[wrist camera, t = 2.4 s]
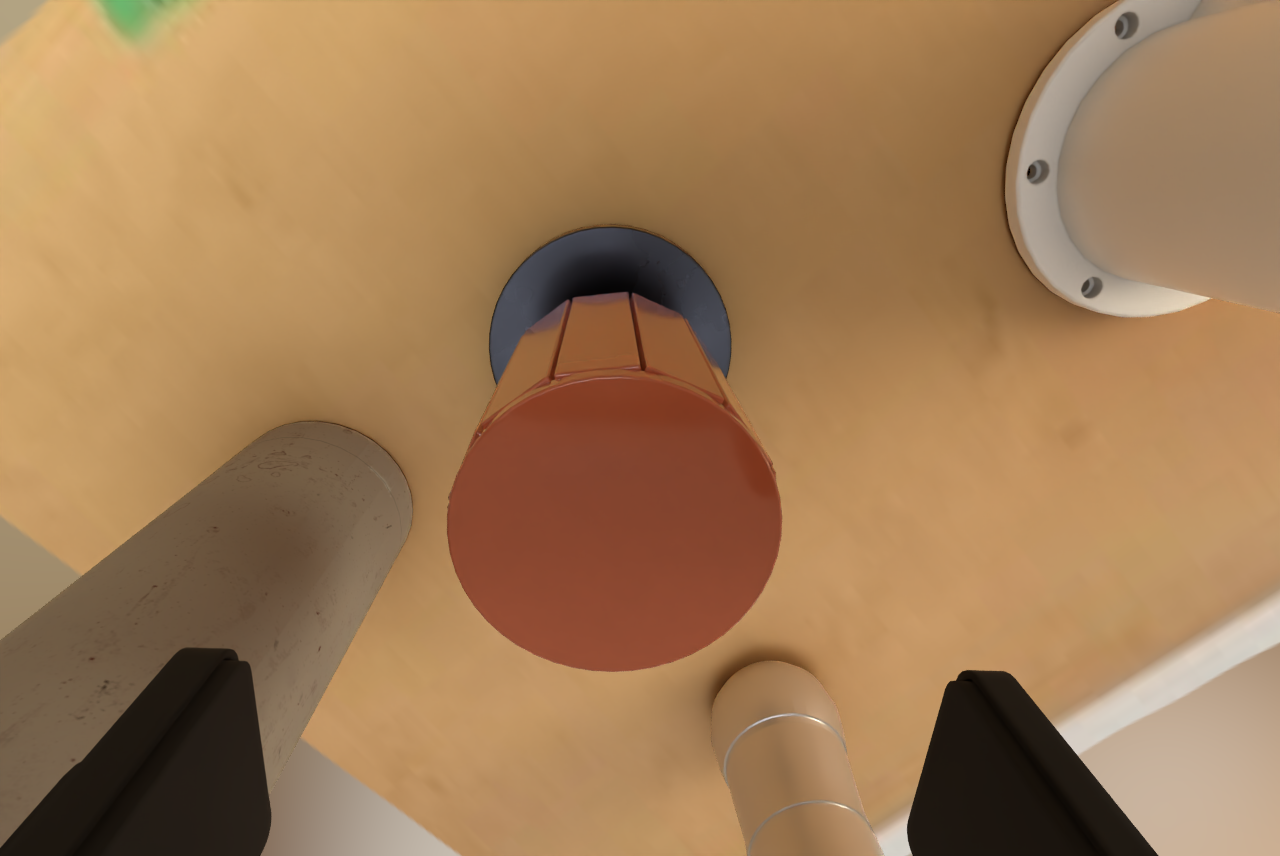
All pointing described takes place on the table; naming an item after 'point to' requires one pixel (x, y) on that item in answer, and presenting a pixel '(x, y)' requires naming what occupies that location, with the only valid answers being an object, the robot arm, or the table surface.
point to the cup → (614, 492)
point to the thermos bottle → (210, 602)
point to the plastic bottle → (788, 765)
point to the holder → (608, 285)
